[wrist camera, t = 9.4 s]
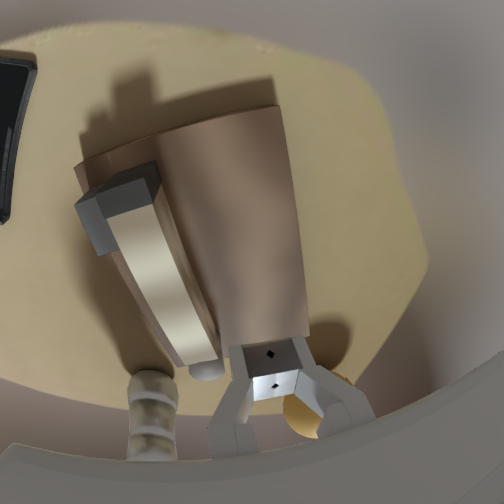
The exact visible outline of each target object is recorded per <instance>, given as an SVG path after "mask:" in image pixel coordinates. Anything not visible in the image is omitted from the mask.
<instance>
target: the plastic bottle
mask: <svg viewBox="0 0 504 504" xmlns="http://www.w3.org/2000/svg"><path fill="white" fill-rule="evenodd" d="M127 394H128V404H129V422H130V431H129V437H130V438H129V441H128V451H127V456H126V461H178V459H177V453H176V445H175V419H176V411H177V407H178V399H179V394H178V390H177V386H176V384H175V382H174V381H173V380H172V378H171V377H169V376H168V375H167V374H165V373H162V372H159V371H155V370H142V371H139V372H137V373H136V374H135V375H133V376H132V377H131V379H130V382H129V385H128V388H127Z"/></svg>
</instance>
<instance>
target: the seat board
mask: <svg viewBox="0 0 504 504" xmlns="http://www.w3.org/2000/svg"><path fill="white" fill-rule="evenodd" d="M153 160H156V163H157V166H158V169H159V172H160V175H161V178H162V183H161V184H162V187H163V190H164V193H165V196H166V199H167V202H168V205H169V208H170V211H171V214H172V216H173V219H174V222H175V225H176V228H177V231H178V233H179V236H180V239H181V241H182V244H183V247H184V250H185V252H186V255H187V258H188V260H189V263H190V265H191V268H192V271H193V273H194V276H195V278H196V281H197V283H198V286H199V288H200V291H201V293H202V296H203V298H204V301H205V303H206V306H207V308H208V311H209V313H210V315H211V318H212V320H213V322H214V325H215V331H217V332H218V333H219V334H220V337H221V345H222V353H223V358H227V357H229V352H228V346H236V345H244V344H252V343H260V342H265V341H269V340H275V339H280V338H285V337H292V336H297V335H303V336H304V337H308V336H310V332H309V320H308V309H307V298H306V288H305V278H304V269H303V260H302V251H301V242H300V234H299V226H298V219H297V211H296V204H295V197H294V190H293V183H292V176H291V170H290V163H289V157H288V151H287V145H286V139H285V133H284V127H283V121H282V116H281V110H280V106H279V105H273V104H272V105H266V106H261V107H256V108H250V109H245V110H241V111H236V112H231V113H227V114H223V115H218V116H214V117H210V118H206V119H202V120H199V121H195V122H191V123H188V124H184V125H181V126H177V127H174V128H171V129H167V130H164V131H161V132H158V133H155V134H152V135H149V136H146V137H143V138H140V139H137V140H134V141H132V142H129V143H126V144H123V145H121V146H118V147H116V148H113V149H110V150H108V151H105V152H103V153H100V154H98V155H96V156H93V157H91V158H89V159H86V160H84V161H82V162H81V163H79V164H78V165H77V166H75V167H74V170H75V173H76V175H77V178H78V181H79V183H80V186H81V188H82V191H83V193H84V195H83V196H82V197H81V198H80V199H79V200H78V202H77V203H76V204H75V205H74V206H75V208H76V211H77V213H78V215H79V217H80V220H81V222H82V224H83V226H84V228H85V231H86V233H87V235H88V237H89V239H90V241H91V243H92V245H93V247H94V249H95V251H96V253H97V255H98V257H99V256H102V255H105V254H108V253H110V254H111V256H112V258H113V260H114V262H115V264H116V266H117V268H118V270H119V272H120V273H121V275H122V277H123V279H124V281H125V283H126V285H127V287H128V288H129V290H130V292H131V294H132V296H133V297H134V299H135V301H136V303H137V304H138V306H139V308H140V310H141V311H142V313H143V315H144V316H145V318H146V320H147V321H148V323H149V325H150V326H151V328H152V329H153V331H154V333H155V334H156V336H157V337H158V339H159V341H160V342H161V344H162V345H163V347H164V348H165V350H166V351H167V353H168V354H169V356H170V357H171V359H172V360H173V362H174V363H175V365H176V366H177V368H178V367H183V366H189V365H185V364H184V363H183V361H182V360H181V358H180V357H179V355H178V354H177V352H176V350H175V349H174V347H173V346H172V344H171V342H170V341H169V339H168V337H167V336H166V334H165V332H164V331H163V329H162V327H161V326H160V324H159V322H158V320H157V319H156V317H155V315H154V313H153V312H152V310H151V308H150V306H149V304H148V303H147V301H146V299H145V297H144V295H143V293H142V292H141V290H140V288H139V286H138V284H137V282H136V280H135V278H134V276H133V274H132V272H131V270H130V268H129V266H128V264H127V262H126V260H125V258H124V256H123V254H122V252H121V250H120V248H119V246H118V243H117V241H116V239H115V237H114V235H113V233H112V230H111V228H110V226H109V224H108V221H107V219H105V220H104V217H103V215H102V213H101V210H100V208H99V206H98V203H97V201H96V198H95V196H94V195H95V194H96V193H97V192H98V191H99V189H100V188H101V187H102V186H103V185H104V184H105V183H106V182H107V181H108V180H109V179H110V178H111V177H112V176H113V175H114V174H116V173H119V172H121V171H124V170H127V169H130V168H133V167H136V166H138V165H141V164H144V163H147V162H150V161H153Z"/></svg>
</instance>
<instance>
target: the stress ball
mask: <svg viewBox="0 0 504 504" xmlns="http://www.w3.org/2000/svg"><path fill="white" fill-rule="evenodd" d="M330 372H331V373H333V374H334V375H336V376H337V377H339V378H341V379H342V380H344V381H345V382H347V383H348V384H350V385H351V386H353V385H352V384H351V382H350V381H349V380H348V379H347V378H344V377H343V376H341V375H340V374H338V373H336V372H333V371H330ZM283 411H284V415H285V418H286V420H287V422H288V424H289V425H290V426H291V427H292V428H293V429H294V430H295V431H296V432H297V433H299V434H301V435H303V436H306V437H310V438H318V436H317V433H316V431H317V429H318V427H319V425H320V423H321V421H322V419H323V418H321V417H320V416H319V415H318V414H317V413H315V412H314V411H313V410H312V409H311V408H309V407H308V406H307V405H306V404H305V403H304V402H303V401H301V400H300V399H299V398H298V397H297V396H296V395H295V394H294V393H293V394H288V395H285V397H284V402H283Z"/></svg>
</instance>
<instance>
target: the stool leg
mask: <svg viewBox="0 0 504 504" xmlns="http://www.w3.org/2000/svg"><path fill="white" fill-rule="evenodd" d="M161 183H162V178H161V175H160V172H159V169H158V166H157V163H156V160H153V161H150V162H147V163H144V164H141V165H138V166H136V167H133V168H130V169H127V170H124V171H121V172H119V173H116V174H114V175H113V176H112V177H111V178H110V179H109V180H108V181H107V182H106V183H105V184H104V185H103V186H102V187H101V188H100V189H99V191H98V192H97V193H96V194H95V195H94V196H95V198H96V201H97V203H98V206H99V208H100V210H101V213H102V215H103V217H104V220H105V219H107V221H108V224H109V226H110V228H111V230H112V233H113V235H114V237H115V239H116V241H117V243H118V246H119V248H120V250H121V252H122V254H123V256H124V258H125V260H126V262H127V264H128V266H129V268H130V270H131V272H132V274H133V276H134V278H135V280H136V282H137V284H138V286H139V288H140V290H141V292H142V293H143V295H144V297H145V299H146V301H147V303H148V304H149V306H150V308H151V310H152V312H153V313H154V315H155V317H156V319H157V320H158V322H159V324H160V326H161V327H162V329H163V331H164V332H165V334H166V336H167V337H168V339H169V341H170V342H171V344H172V346H173V347H174V349H175V350H176V352H177V354H178V355H179V357H180V358H181V360H182V361H183V363H184V364H185V365H189V374H190V375H191V376H192V377H193V378H195V379H197V380H201V381H211V380H215V379H218V378H220V377H221V376H222V375H223V374H224V372H225V368H224V361H223V353H222V345H221V337H220V334H219V333H218V332H217V331H215V325H214V322H213V320H212V318H211V315H210V313H209V311H208V308H207V306H206V303H205V301H204V298H203V296H202V293H201V291H200V288H199V286H198V283H197V281H196V278H195V276H194V273H193V271H192V268H191V265H190V263H189V260H188V258H187V255H186V252H185V250H184V247H183V244H182V241H181V239H180V236H179V233H178V231H177V228H176V225H175V222H174V219H173V216H172V214H171V211H170V208H169V205H168V202H167V199H166V196H165V193H164V190H163V187H162V184H161Z"/></svg>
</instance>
